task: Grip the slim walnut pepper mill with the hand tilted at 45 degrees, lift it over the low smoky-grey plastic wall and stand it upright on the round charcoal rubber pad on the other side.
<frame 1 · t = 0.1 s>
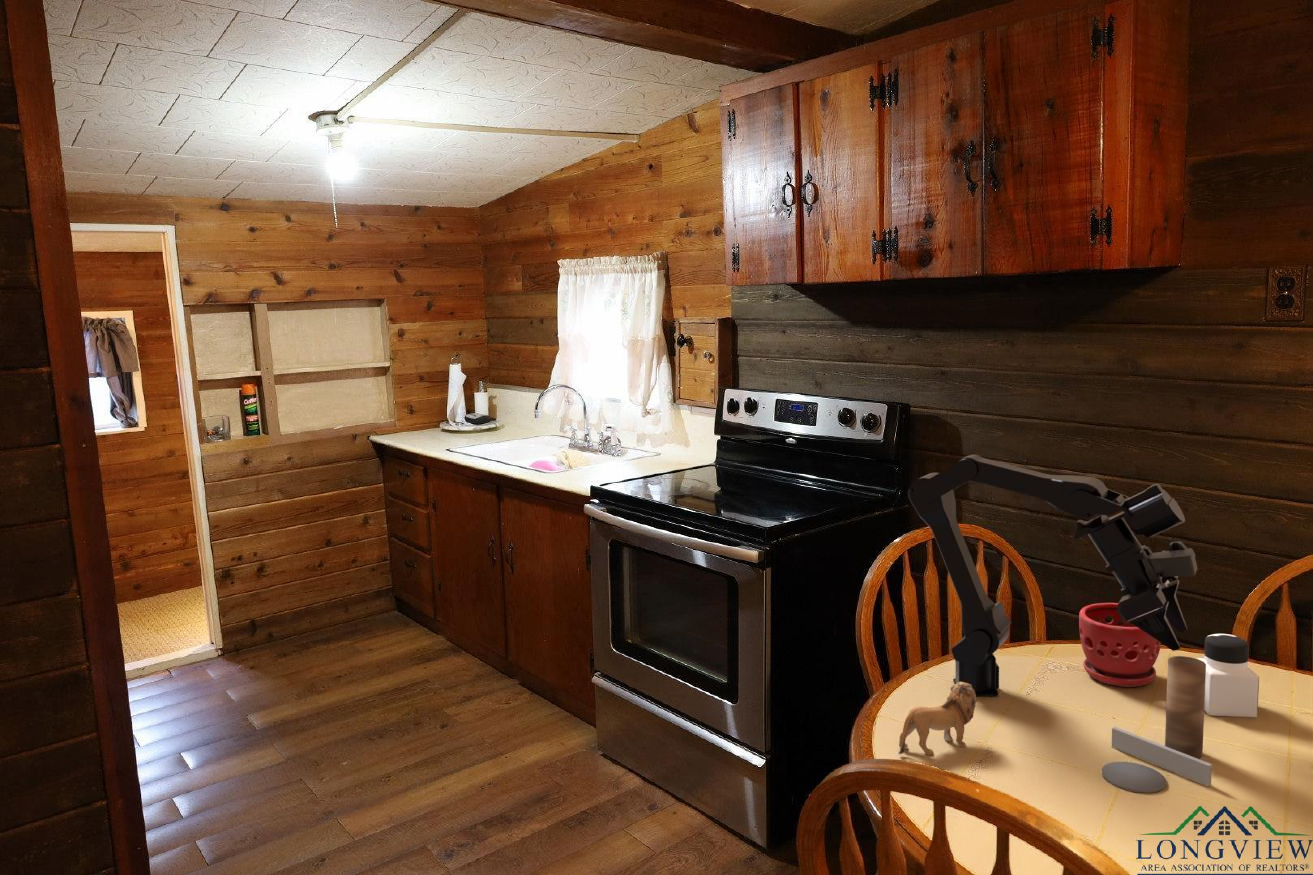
hand: (1180, 640, 136), 15 cm above the table, tool tilted 35°, fingers open, 9 cm apart
pepper mill: (1183, 752, 131), on the table
medicine bottle: (1223, 708, 145), on the table
plant pot: (1118, 678, 158), on the table
lion figurine: (937, 745, 137), on the table
resting pad: (1133, 777, 125), on the table
low wall: (1159, 764, 128), on the table
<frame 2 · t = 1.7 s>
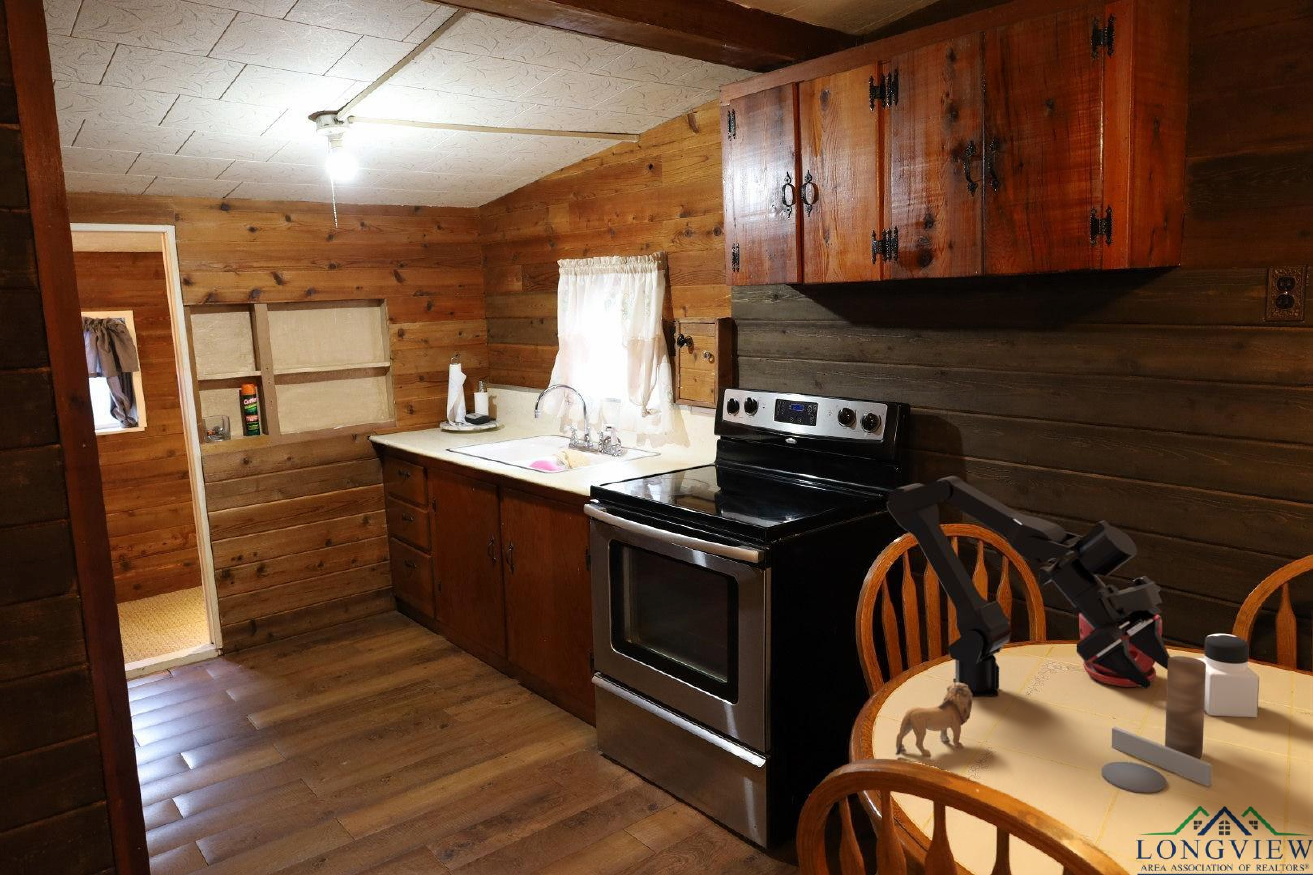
hand: (1160, 677, 132), 11 cm above the table, tool tilted 45°, fingers open, 9 cm apart
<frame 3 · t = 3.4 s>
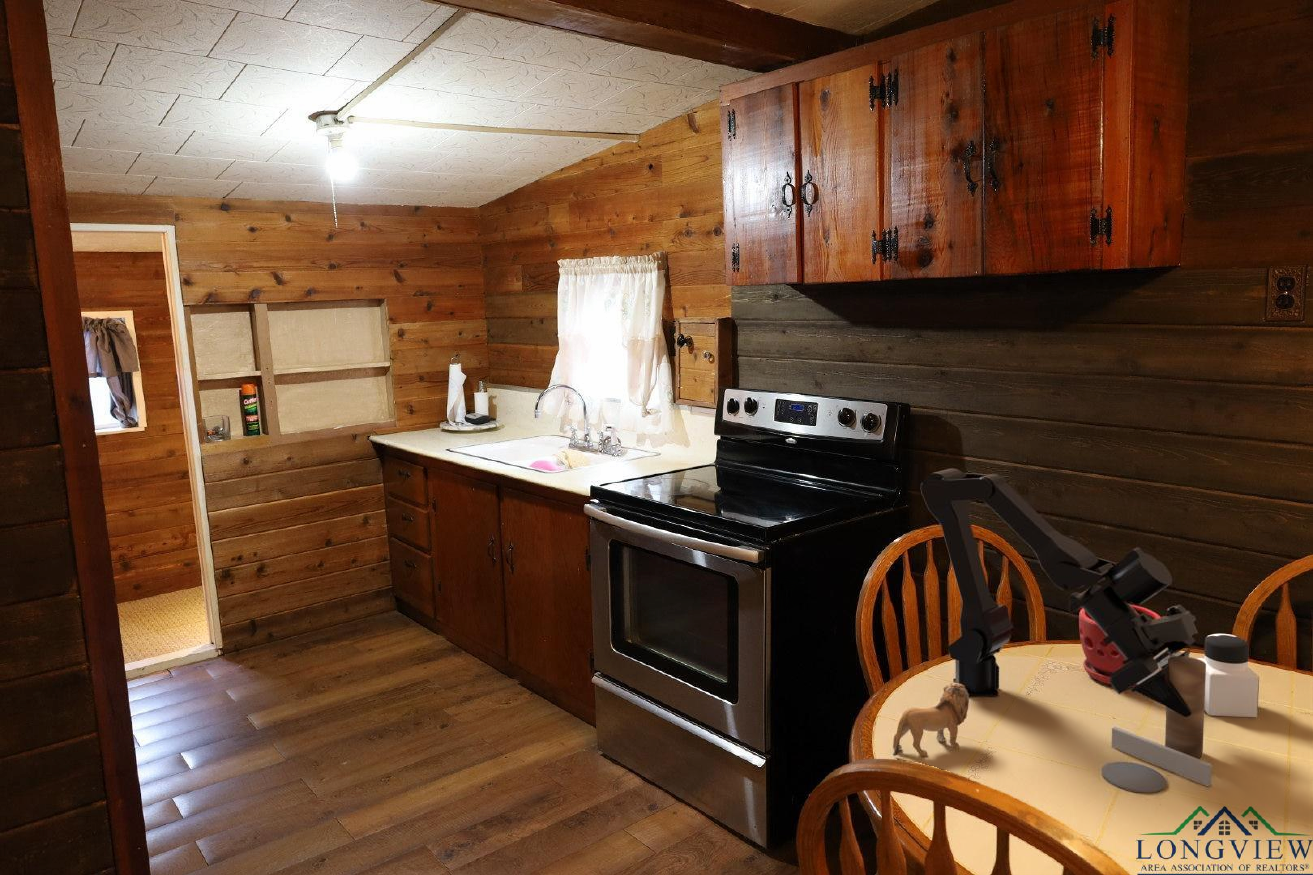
hand: (1195, 709, 129), 7 cm above the table, tool tilted 45°, fingers closed on pepper mill, 5 cm apart
pepper mill: (1183, 752, 131), on the table, touching gripper
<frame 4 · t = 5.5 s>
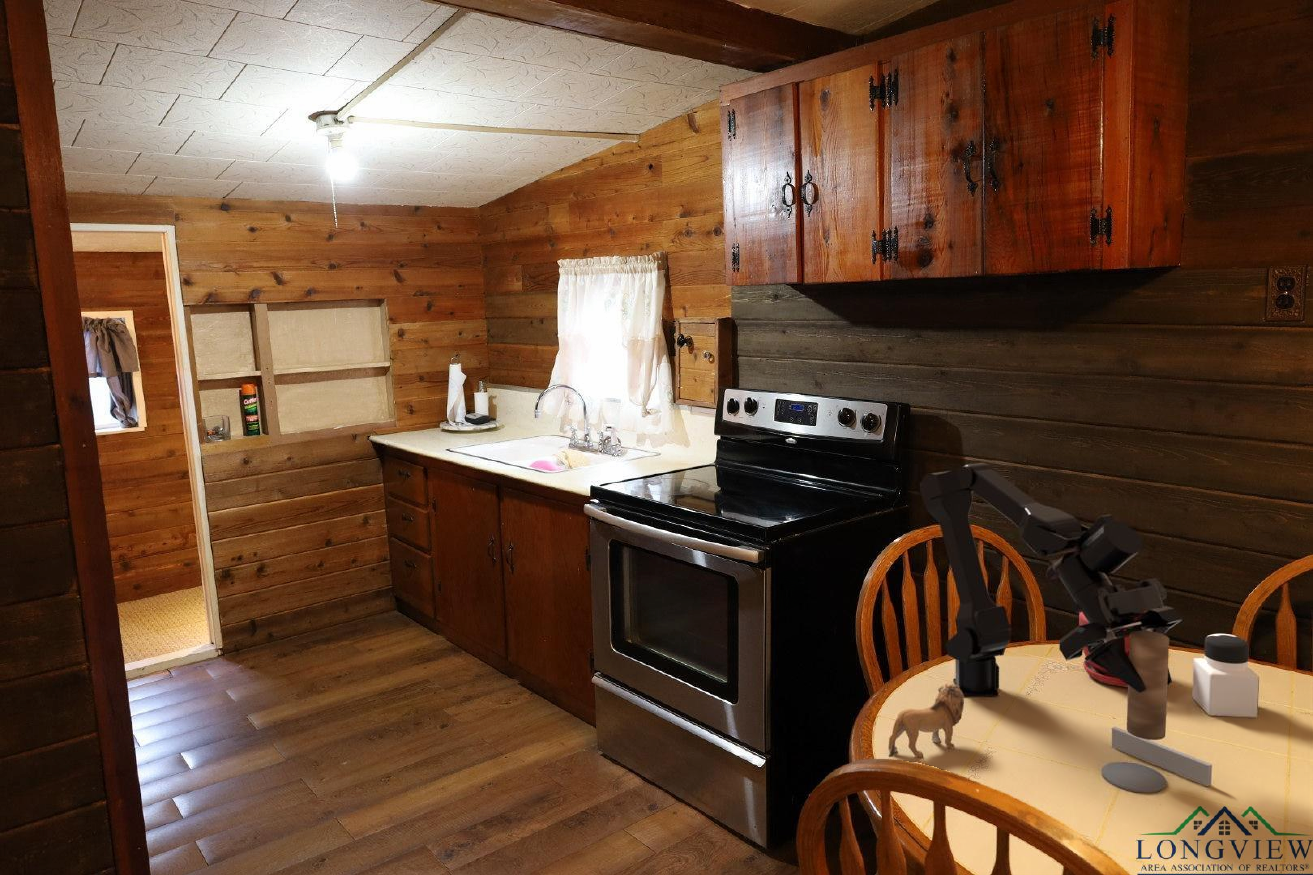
hand: (1156, 687, 122), 13 cm above the table, tool tilted 45°, fingers closed on pepper mill, 5 cm apart
pepper mill: (1145, 731, 125), point 6 cm above the table, touching gripper
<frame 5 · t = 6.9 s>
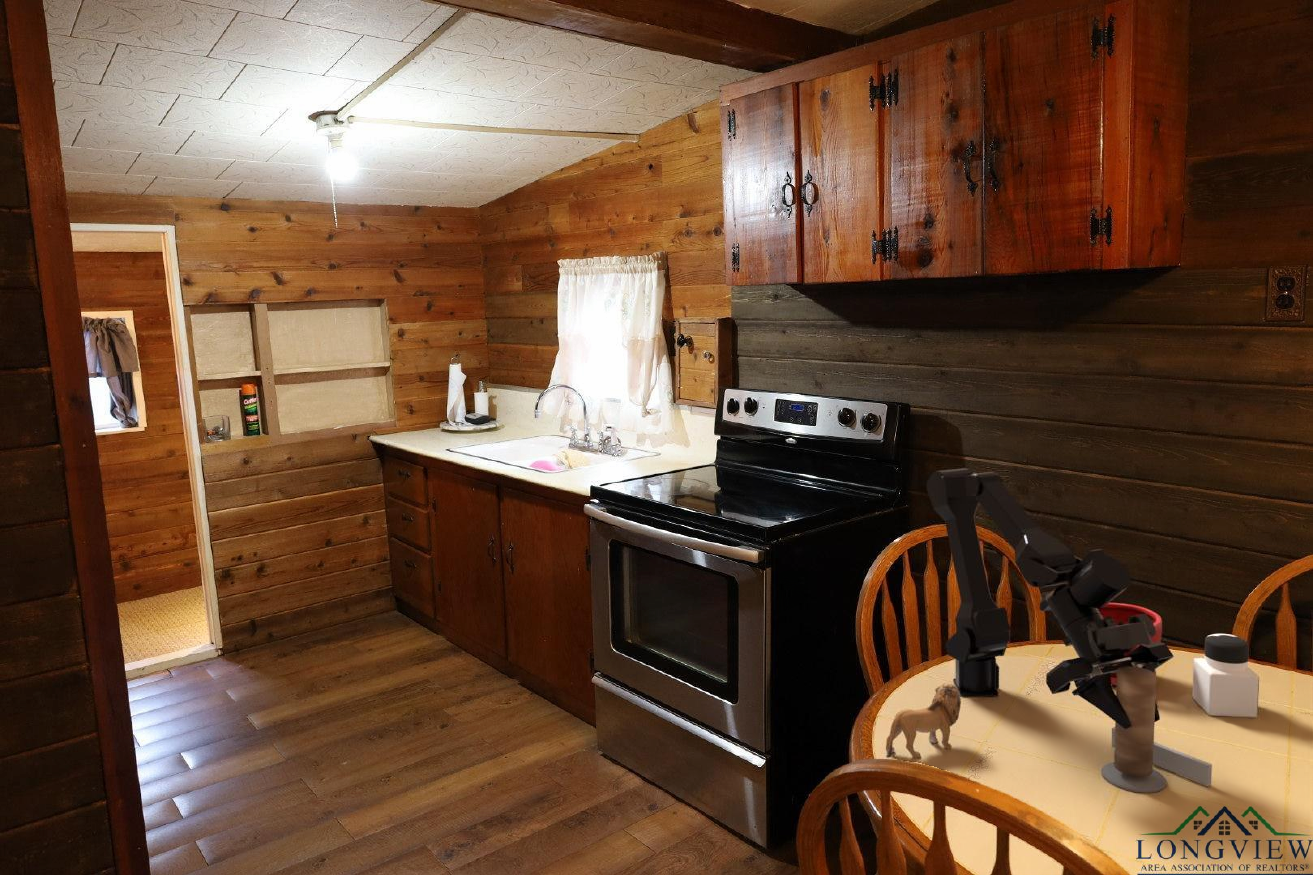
hand: (1142, 724, 122), 9 cm above the table, tool tilted 45°, fingers closed on pepper mill, 5 cm apart
pepper mill: (1133, 767, 124), point 1 cm above the table, touching gripper
when the fingers open (8 cm above the table, at t = 7.6 s): pepper mill stays where it is, resting on resting pad.
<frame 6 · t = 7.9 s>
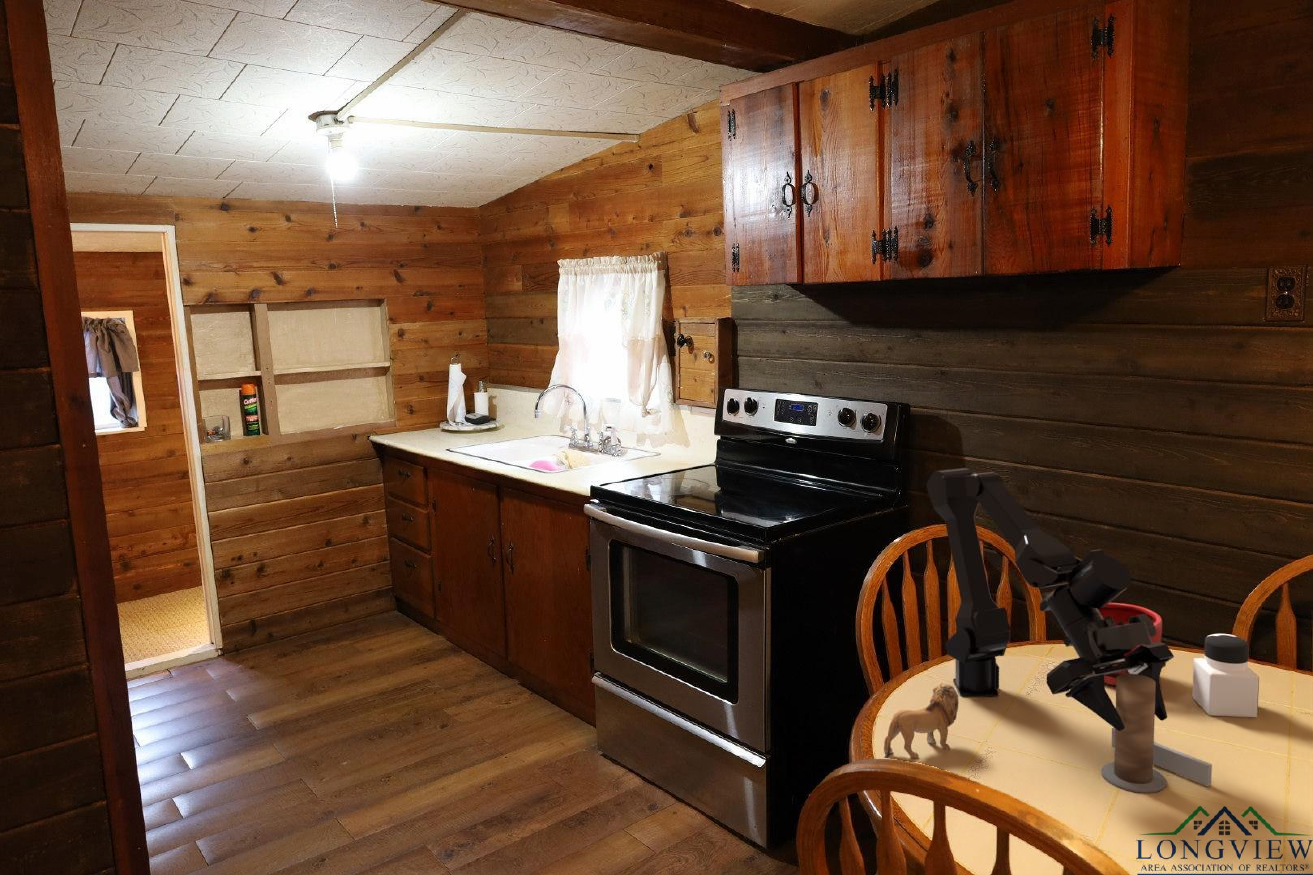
hand: (1143, 724, 122), 9 cm above the table, tool tilted 45°, fingers open, 7 cm apart
pepper mill: (1133, 775, 125), resting on resting pad
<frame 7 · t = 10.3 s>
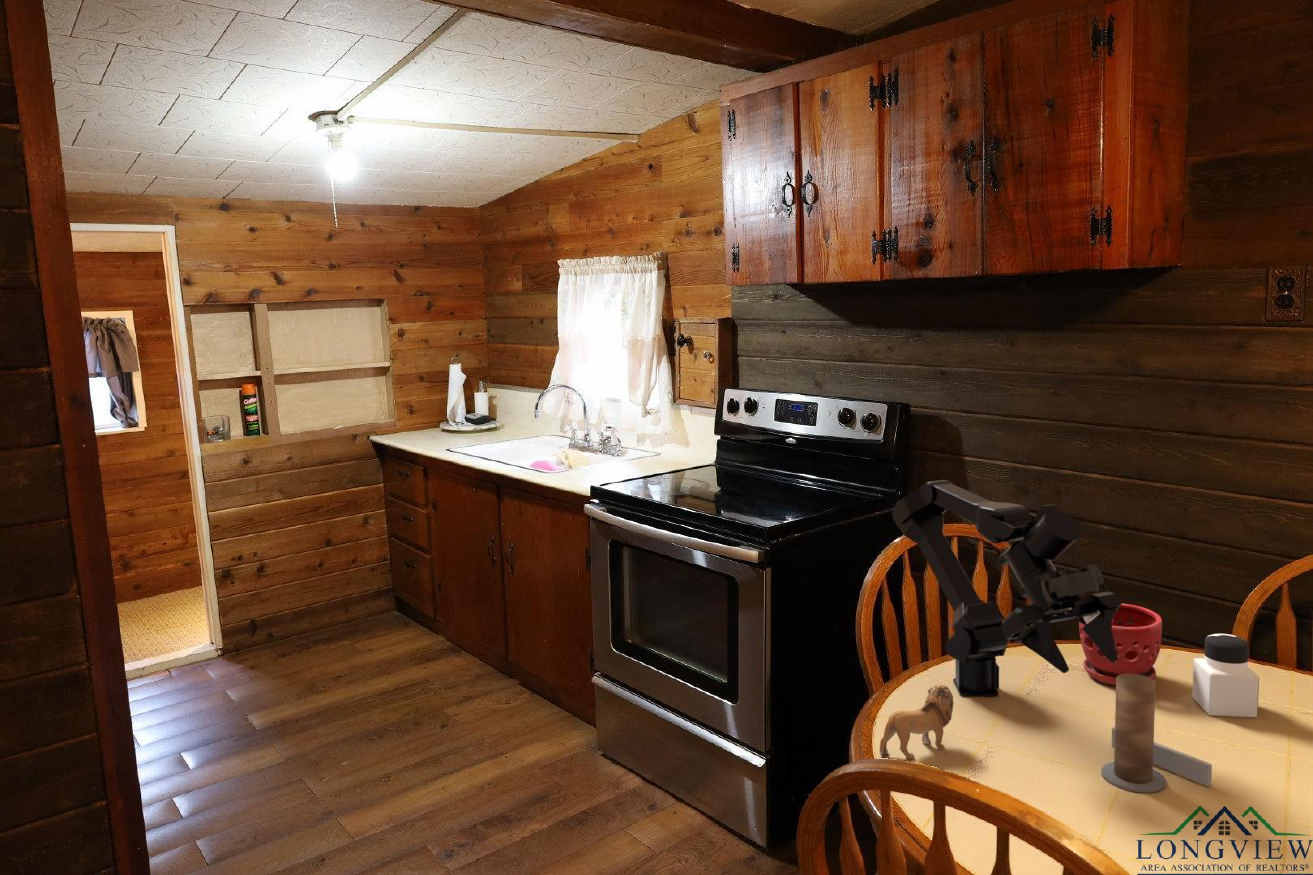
hand: (1091, 666, 130), 13 cm above the table, tool tilted 45°, fingers open, 9 cm apart
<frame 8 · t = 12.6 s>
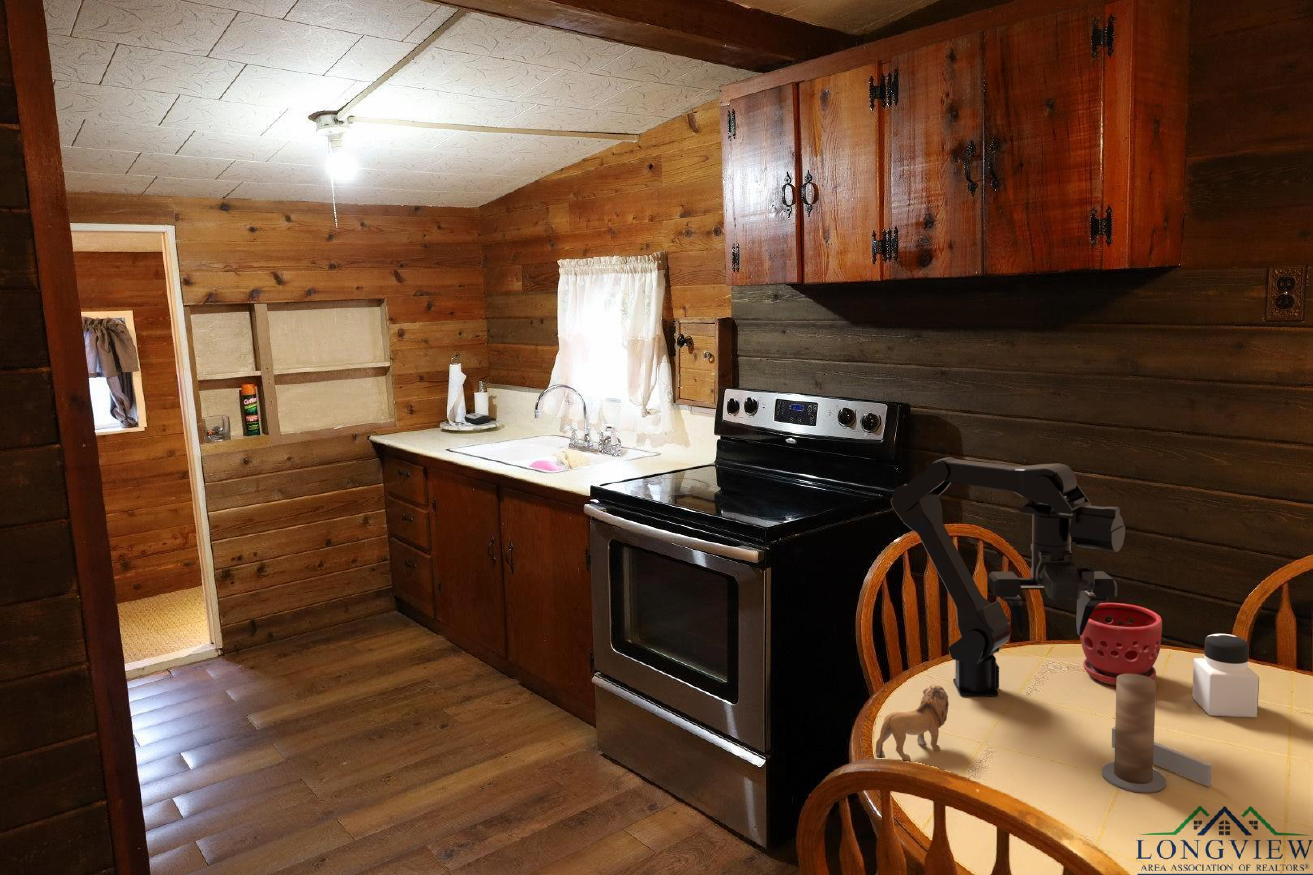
hand: (1049, 634, 145), 13 cm above the table, tool pointing down, fingers open, 9 cm apart
at the end: pepper mill 0.1 cm from the resting pad (horizontally); pepper mill tilted 0°; the gripper is holding nothing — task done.
